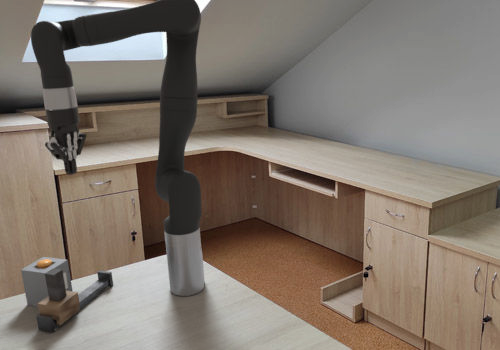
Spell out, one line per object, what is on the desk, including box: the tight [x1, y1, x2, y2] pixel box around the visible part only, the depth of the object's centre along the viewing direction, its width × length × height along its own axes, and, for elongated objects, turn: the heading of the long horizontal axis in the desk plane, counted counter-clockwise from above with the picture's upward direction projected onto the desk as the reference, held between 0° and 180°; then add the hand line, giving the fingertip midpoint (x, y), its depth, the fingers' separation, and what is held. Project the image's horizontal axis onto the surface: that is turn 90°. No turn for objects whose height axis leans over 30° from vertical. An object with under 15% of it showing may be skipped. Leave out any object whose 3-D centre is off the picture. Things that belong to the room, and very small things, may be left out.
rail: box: [35, 270, 114, 334], centre depth 122 cm, size 24×4×4 cm, turn 160°
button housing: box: [20, 256, 74, 307], centre depth 125 cm, size 8×9×10 cm
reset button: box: [37, 259, 52, 269], centre depth 125 cm, size 4×4×6 cm
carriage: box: [37, 268, 81, 326], centre depth 115 cm, size 7×6×12 cm
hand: (71, 173), depth 122 cm, fingers closed
